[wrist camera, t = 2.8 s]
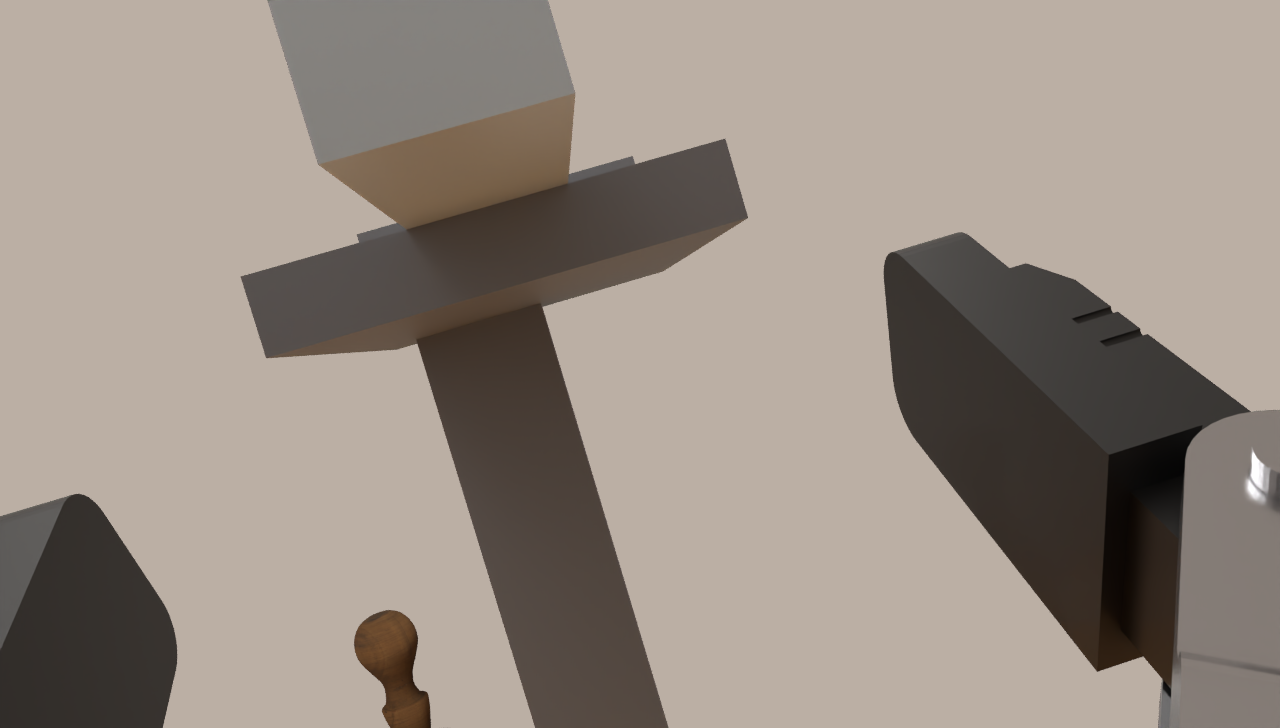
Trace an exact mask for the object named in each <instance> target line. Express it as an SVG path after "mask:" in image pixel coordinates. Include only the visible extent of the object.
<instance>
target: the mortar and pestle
mask: <svg viewBox="0 0 1280 728" xmlns="http://www.w3.org/2000/svg"><path fill="white" fill-rule="evenodd" d="M417 644H418V636H417V632H416V629H415V627H414V625H413V623H412V622H411V621H410V619H409V618H408V617H406V616H405V615H404V614H402V613H401V612H398V611H392V610H386V611H382V612H379V613H376V614H373V615H372V616H370V617H369V618H367V619H366V620H365V621H363V622H362V624H361V625H360V626H359V627H358V630H357V632H356V635H355V640H354V646H355V653H356V656H357V658H358V660H359V661H360V663H361V664H362V665H363V666H364V667H365V668H366V669H367V670H368V671H369V672H370V673H371V674H372V675H374V676H375V677H376V678H377V679H378V680H380V682H381V683H382V684H383V686H384V688H385V693H386V705H385V706H384V707H383V709H382V713H383V715H384V717H385V719H386V721H387V723H388V725H389V726H390V728H431V719H430V704H429V697H428V693H427V692H425V691H419V689H418V688H417V687H416V686H415V684H414V682H413V673H412V671H413V665H414V660H415V656H416V650H417Z"/></svg>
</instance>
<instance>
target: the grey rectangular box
mask: <svg viewBox="0 0 1280 728" xmlns="http://www.w3.org/2000/svg"><path fill="white" fill-rule="evenodd" d="M268 3H269V7H270V10H271V13H272V17H273V20H274V23H275V26H276V29H277V32H278V36H279V39H280V42H281V46H282V49H283V52H284V55H285V59H286V62H287V65H288V68H289V71H290V75H291V78H292V81H293V84H294V88H295V91H296V94H297V97H298V100H299V104H300V107H301V110H302V114H303V117H304V120H305V123H306V126H307V130H308V133H309V136H310V140H311V143H312V146H313V149H314V153H315V156H316V159H317V162H318V165H319V166H321V167H322V168H324V169H325V170H326V171H328V172H329V173H330V174H332V175H333V176H335V177H336V178H337V179H339V180H340V181H341V182H343V183H344V184H345V185H347V186H348V187H349V188H351V189H352V190H353V191H355V192H356V193H358V194H359V195H360V196H362V197H363V198H365V199H366V200H367V201H368V202H370V203H371V204H373V205H374V206H375V207H377V208H378V209H379V210H381V211H382V212H383V213H385V214H386V215H387V216H389V217H390V218H392V219H393V220H394V221H396V222H397V223H398V224H400V225H401V226H402V227H404V228H405V229H410V228H413V227H417V226H420V225H424V224H428V223H431V222H435V221H438V220H442V219H445V218H449V217H452V216H456V215H459V214H463V213H466V212H470V211H473V210H477V209H480V208H484V207H487V206H491V205H494V204H498V203H501V202H505V201H508V200H512V199H515V198H519V197H522V196H526V195H529V194H533V193H536V192H540V191H543V190H547V189H550V188H554V187H557V186H561V185H564V184H568V177H569V164H570V150H571V140H572V127H573V114H574V103H575V90H574V87H573V84H572V81H571V77H570V73H569V70H568V67H567V63H566V60H565V57H564V53H563V50H562V47H561V43H560V40H559V36H558V33H557V30H556V26H555V23H554V20H553V16H552V13H551V9H550V6H549V2H548V0H268Z"/></svg>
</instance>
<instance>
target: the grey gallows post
mask: <svg viewBox="0 0 1280 728" xmlns="http://www.w3.org/2000/svg"><path fill="white" fill-rule="evenodd" d="M747 218H748V216H747V212H746V209H745V206H744V202H743V199H742V195H741V192H740V188H739V185H738V181H737V178H736V174H735V171H734V168H733V164H732V161H731V157H730V154H729V150H728V147H727V143H726V140H725V139H723V140H719V141H716V142H712V143H709V144H705V145H701V146H698V147H694V148H691V149H687V150H684V151H680V152H677V153H674V154H670V155H667V156H663V157H659V158H656V159H652V160H649V161H645V162H642V163H638V164H635V163H634V159H633V157H632V156H631V157H628V158H624V159H621V160H617V161H614V162H611V163H607V164H604V165H600V166H596V167H593V168H589V169H586V170H582V171H579V172H575V173H572V174H569V177H568V184H564V185H561V186H557V187H554V188H550V189H547V190H543V191H540V192H536V193H533V194H529V195H526V196H522V197H519V198H515V199H512V200H508V201H505V202H501V203H498V204H494V205H491V206H487V207H484V208H480V209H477V210H473V211H470V212H466V213H463V214H459V215H456V216H452V217H449V218H445V219H442V220H438V221H435V222H431V223H428V224H424V225H420V226H417V227H413V228H410V229H405V228H404V227H402V226H401V225H400V224H398V223H396V224H392V225H389V226H385V227H382V228H378V229H375V230H371V231H368V232H364V233H360V234H357V237H358V240H359V243H357V244H354V245H350V246H347V247H343V248H340V249H336V250H333V251H329V252H326V253H322V254H319V255H315V256H312V257H308V258H305V259H301V260H298V261H294V262H291V263H288V264H284V265H280V266H277V267H273V268H270V269H266V270H262V271H259V272H256V273H252V274H249V275H245V276H241V279H242V282H243V285H244V289H245V292H246V295H247V298H248V301H249V305H250V307H251V311H252V314H253V317H254V320H255V324H256V327H257V330H258V333H259V336H260V340H261V343H262V346H263V349H264V352H265V356H266V358H277V357H292V356H307V355H321V354H336V353H350V352H367V351H381V350H396V349H400V348H403V347H407V346H410V345H413V344H418V347H419V350H420V353H421V356H422V360H423V363H424V366H425V370H426V373H427V376H428V379H429V383H430V386H431V389H432V392H433V396H434V399H435V402H436V405H437V409H438V412H439V415H440V419H441V421H442V425H443V428H444V432H445V435H446V438H447V441H448V445H449V448H450V451H451V454H452V458H453V461H454V464H455V467H456V471H457V474H458V477H459V481H460V484H461V487H462V490H463V494H464V497H465V500H466V503H467V507H468V510H469V513H470V516H471V519H472V523H473V526H474V529H475V533H476V536H477V539H478V543H479V546H480V549H481V552H482V556H483V559H484V562H485V565H486V569H487V572H488V575H489V578H490V582H491V585H492V588H493V591H494V595H495V598H496V601H497V604H498V608H499V611H500V614H501V617H502V621H503V624H504V627H505V631H506V634H507V637H508V640H509V644H510V647H511V650H512V653H513V657H514V660H515V663H516V666H517V670H518V673H519V676H520V680H521V683H522V686H523V689H524V693H525V696H526V699H527V702H528V706H529V709H530V712H531V715H532V719H533V722H534V725H535V728H668V725H667V721H666V718H665V715H664V711H663V708H662V705H661V701H660V698H659V695H658V691H657V688H656V685H655V681H654V678H653V675H652V671H651V668H650V665H649V661H648V658H647V655H646V652H645V648H644V645H643V641H642V638H641V635H640V631H639V628H638V625H637V621H636V618H635V615H634V611H633V608H632V605H631V601H630V598H629V595H628V591H627V588H626V585H625V581H624V578H623V575H622V571H621V568H620V565H619V561H618V558H617V555H616V551H615V548H614V545H613V542H612V538H611V535H610V531H609V528H608V525H607V521H606V518H605V515H604V511H603V508H602V505H601V501H600V498H599V495H598V492H597V488H596V485H595V481H594V478H593V475H592V471H591V468H590V465H589V461H588V458H587V455H586V451H585V448H584V445H583V441H582V438H581V435H580V431H579V428H578V425H577V421H576V418H575V415H574V411H573V408H572V405H571V401H570V398H569V395H568V391H567V388H566V385H565V381H564V378H563V375H562V371H561V368H560V365H559V361H558V358H557V355H556V351H555V348H554V345H553V341H552V338H551V335H550V332H549V328H548V325H547V321H546V318H545V315H544V311H543V308H542V307H543V306H547V305H550V304H553V303H556V302H560V301H563V300H567V299H570V298H574V297H577V296H581V295H584V294H588V293H591V292H594V291H598V290H601V289H604V288H608V287H611V286H615V285H618V284H621V283H625V282H628V281H631V280H635V279H639V278H642V277H645V276H649V275H652V274H656V273H659V272H662V271H664V270H666V269H667V268H669V267H671V266H672V265H674V264H675V263H677V262H679V261H680V260H682V259H683V258H685V257H687V256H688V255H690V254H691V253H693V252H695V251H696V250H698V249H699V248H701V247H702V246H704V245H706V244H707V243H709V242H710V241H712V240H714V239H715V238H717V237H718V236H720V235H722V234H723V233H725V232H726V231H728V230H729V229H731V228H733V227H734V226H736V225H737V224H739V223H741V222H742V221H744V220H745V219H747Z"/></svg>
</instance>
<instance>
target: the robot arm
mask: <svg viewBox="0 0 1280 728" xmlns="http://www.w3.org/2000/svg"><path fill="white" fill-rule="evenodd" d="M884 284H885V295H886V306H887V318H888V329H889V340H890V351H891V362H892V373H893V382H894V388H895V393H896V397H897V401H898V404H899V407H900V410H901V413H902V415H903V418H904V420H905V422H906V424H907V426H908V428H909V430H910V432H911V434H912V435H913V437H914V438H915V440H916V441H917V442H918V443H919V445H920V446H921V447H922V449H923V450H924V451H925V452H926V454H927V455H928V456H929V458H930V459H931V460H932V461H933V462H934V464H935V465H936V466H937V468H938V469H939V470H940V472H941V473H942V474H943V475H944V477H945V478H946V479H947V480H948V482H949V483H950V484H951V486H952V487H953V488H954V489H955V491H956V492H957V493H958V495H959V496H960V497H961V498H962V500H963V501H964V502H965V503H966V505H967V506H968V507H969V509H970V510H971V511H972V512H973V514H974V515H975V516H976V517H977V519H978V520H979V521H980V523H981V524H982V525H983V526H984V528H985V529H986V530H987V531H988V533H989V534H990V535H991V537H992V538H993V539H994V540H995V542H996V543H997V544H998V546H999V547H1000V548H1001V549H1002V550H1003V552H1004V553H1005V555H1006V556H1007V557H1008V558H1009V560H1010V561H1011V562H1012V564H1013V565H1014V566H1015V567H1016V569H1017V570H1018V571H1019V572H1020V574H1021V575H1022V576H1023V578H1024V579H1025V580H1026V581H1027V583H1028V584H1029V585H1030V586H1031V588H1032V589H1033V590H1034V592H1035V593H1036V594H1037V595H1038V597H1039V598H1040V599H1041V601H1042V602H1043V603H1044V604H1045V606H1046V607H1047V608H1048V609H1049V611H1050V612H1051V613H1052V615H1053V616H1054V617H1055V618H1056V619H1057V621H1058V622H1059V623H1060V625H1061V626H1062V627H1063V629H1064V630H1065V631H1066V632H1067V634H1068V635H1069V636H1070V638H1071V639H1072V640H1073V641H1074V643H1075V644H1076V645H1077V646H1078V647H1079V649H1080V650H1081V652H1082V653H1083V654H1084V655H1085V657H1086V658H1087V659H1088V661H1089V662H1090V663H1091V664H1092V666H1093V667H1094V668H1095V669H1096V671H1097V672H1098V671H1100V670H1104V669H1106V668H1109V667H1112V666H1116V665H1119V664H1122V663H1124V662H1128V661H1131V660H1134V659H1136V658H1139V657H1142V656H1144V658H1145V659H1146V660H1147V661H1148V662H1149V664H1150V665H1151V666H1152V667H1153V668H1154V669H1155V671H1156V672H1157V673H1158V674H1159V675H1160V677H1161V678H1162V684H1161V693H1160V704H1159V721H1158V728H1280V410H1267V411H1254V412H1251V411H1249V410H1248V409H1247V408H1245V407H1244V406H1243V405H1241V404H1240V403H1239V402H1237V401H1236V400H1235V399H1233V398H1232V397H1231V396H1229V395H1228V394H1227V393H1225V392H1224V391H1223V390H1221V389H1220V388H1219V387H1217V386H1216V385H1215V384H1213V383H1212V382H1211V381H1209V380H1208V379H1206V378H1205V377H1204V376H1203V375H1201V374H1200V373H1199V372H1197V371H1196V370H1195V369H1193V368H1192V367H1191V366H1189V365H1188V364H1187V363H1185V362H1184V361H1183V360H1181V359H1180V358H1179V357H1177V356H1176V355H1175V354H1173V353H1172V352H1171V351H1169V350H1168V349H1167V348H1165V347H1164V346H1163V345H1161V344H1160V343H1159V342H1157V341H1156V340H1155V339H1153V338H1152V337H1151V336H1149V335H1148V334H1147V335H1144V336H1143V335H1142V334H1141V332H1140V328H1139V327H1137V326H1136V325H1135V324H1133V323H1132V322H1131V321H1129V320H1128V319H1127V318H1125V317H1124V316H1123V315H1121V314H1120V313H1119V312H1115V313H1113V312H1112V311H1111V306H1109V305H1108V304H1107V303H1105V302H1104V301H1103V300H1101V299H1100V298H1099V297H1097V296H1096V295H1095V294H1093V293H1092V292H1091V291H1089V290H1088V289H1087V288H1085V287H1084V286H1083V285H1081V284H1080V283H1079V282H1077V281H1076V280H1074V279H1071V278H1068V277H1065V276H1062V275H1059V274H1056V273H1053V272H1050V271H1047V270H1044V269H1041V268H1038V267H1035V266H1032V265H1029V264H1023V265H1019V266H1016V267H1013V268H1008V267H1007V266H1006V265H1005V264H1004V263H1002V262H1001V261H1000V260H998V259H997V258H996V257H995V256H994V255H992V254H991V253H990V252H989V251H987V250H986V249H985V248H984V247H983V246H981V245H980V244H979V243H977V242H976V241H975V240H974V239H973V238H971V237H970V236H969V235H967V234H965V233H962V232H961V233H955V234H952V235H948V236H945V237H942V238H939V239H935V240H932V241H928V242H925V243H922V244H918V245H915V246H912V247H908V248H905V249H902V250H898V251H895V252H891V253H890V254H888V256H887V257H886V260H885V265H884ZM176 665H177V644H176V638H175V632H174V628H173V625H172V622H171V619H170V616H169V614H168V612H167V610H166V607H165V606H164V604H163V602H162V600H161V599H160V598H159V596H158V594H157V593H156V591H155V590H154V588H153V587H152V585H151V584H150V582H149V581H148V579H147V578H146V577H145V575H144V573H143V572H142V570H141V569H140V567H139V566H138V564H137V563H136V561H135V560H134V558H133V557H132V555H131V554H130V552H129V551H128V549H127V548H126V546H125V545H124V543H123V542H122V540H121V539H120V537H119V536H118V534H117V533H116V531H115V530H114V528H113V526H112V525H111V523H110V522H109V520H108V519H107V517H106V516H105V515H104V513H103V512H102V510H101V509H100V508H99V506H98V505H97V504H96V503H95V502H93V500H91V499H90V498H89V497H87V496H85V495H81V494H74V495H70V496H67V497H64V498H60V499H57V500H54V501H50V502H47V503H44V504H40V505H37V506H33V507H30V508H27V509H23V510H20V511H17V512H14V513H10V514H7V515H3V516H0V728H163V724H164V719H165V715H166V711H167V706H168V702H169V697H170V693H171V689H172V684H173V680H174V675H175V671H176Z"/></svg>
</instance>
